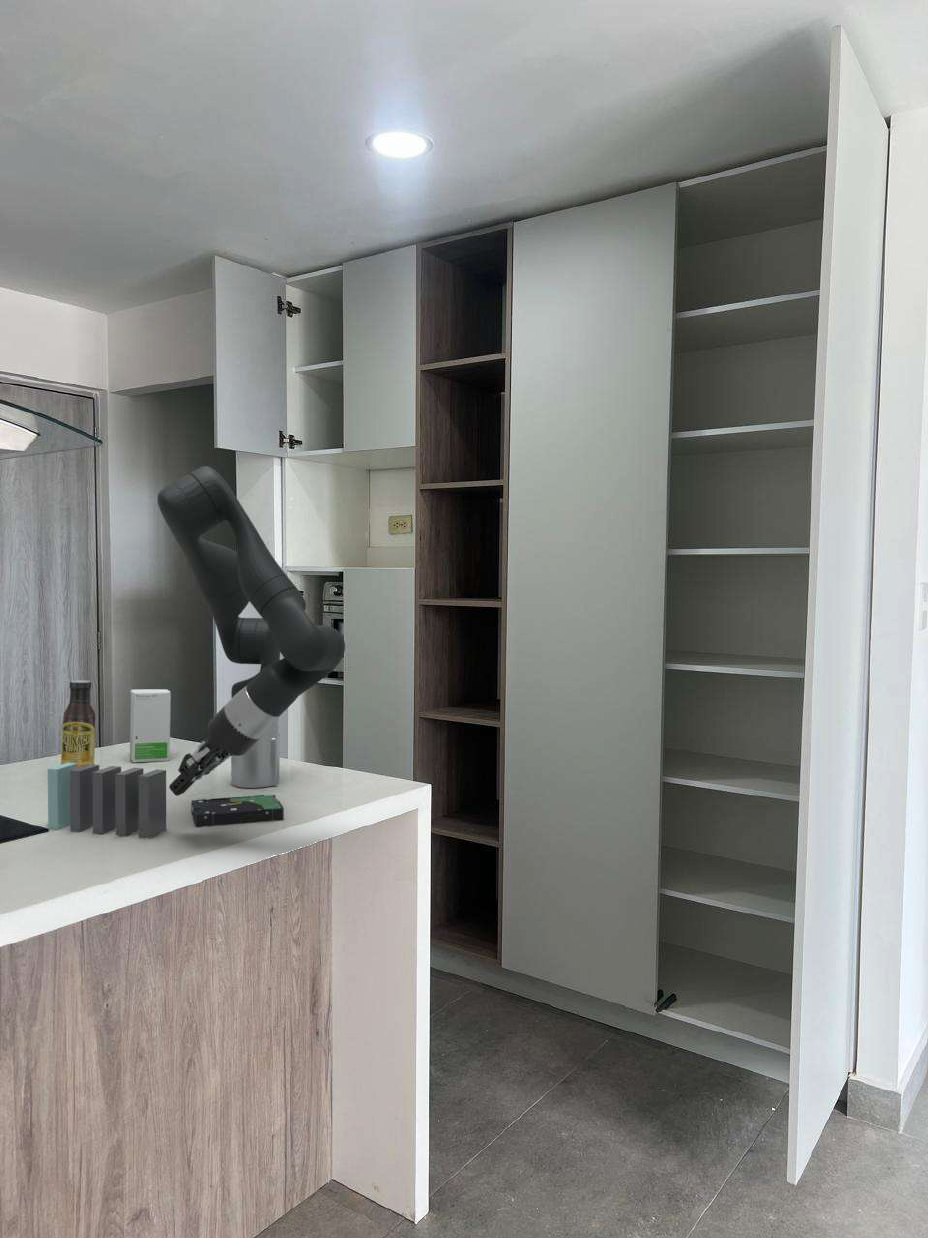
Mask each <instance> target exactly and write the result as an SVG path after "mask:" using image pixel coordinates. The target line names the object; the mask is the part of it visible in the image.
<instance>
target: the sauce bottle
mask: <svg viewBox="0 0 928 1238" xmlns="http://www.w3.org/2000/svg"><path fill="white" fill-rule="evenodd" d="M68 688H69V693H70V694H69V703H68V704H67V707H66V709H65V710H64V712H63V718H62V728H61V749H60V750H61V755H60V765H62V764H65V763H77V768H80V767H83V766H86V765H89V764H93V765H95V746H96V744H95V743H96V712H95V711H94V709H93V707H92V705H91V688H92V680H84V679H76V680H70V681H69V687H68Z"/></svg>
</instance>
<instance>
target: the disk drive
mask: <svg viewBox="0 0 928 1238" xmlns="http://www.w3.org/2000/svg"><path fill="white" fill-rule="evenodd" d="M276 796H277V795H276V794H272V795H271V794H266V795H264V794H261V795H260V794H259V795H246V796H235V797H234V796H233V797H218V798H215V797H214V798H203V799H202V798H200V799H196V800H195V799H194V800H193V799H192V800H191V803H190V804H191V805H190V807H191V808H190V809H191V810H190V811H191V815H192V820H193V822H194V824H193V825H194V827H195V828H203V826H207V827H217V826H229V825H241V824H253V823H263V822H264V823H265V822H267V823H268V822H279V821H284V819H285V817H284V816H285V813H284V811H285V809H284V806H283V805H282V803H281V801H280V800H279V799H278V798H277V797H276Z"/></svg>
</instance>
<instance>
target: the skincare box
mask: <svg viewBox="0 0 928 1238" xmlns="http://www.w3.org/2000/svg"><path fill="white" fill-rule="evenodd" d="M171 695H172V693H171V690H168V689H164V688H163V689H161V688H160V689H158V688H157V689H150V688H149V689H145V688H144V689H143V688H142V689H138V688H137V689H130V718H129V719H130V720H129V721H130V722H129V725H130V726H129V731H130V732H129V758H130V761H131V763H135V764H136V763H149V762H150V763H155V762H169V761H170V758H171V757H170V752H171V697H172V696H171Z"/></svg>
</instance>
